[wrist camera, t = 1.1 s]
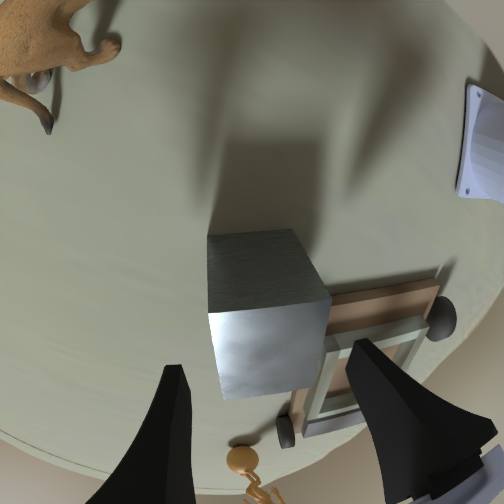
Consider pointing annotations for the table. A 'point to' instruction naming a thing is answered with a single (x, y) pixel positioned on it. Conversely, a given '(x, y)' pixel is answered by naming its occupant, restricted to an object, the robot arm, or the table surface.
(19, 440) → the table surface
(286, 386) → the brushed grey box
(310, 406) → the toy car chassis
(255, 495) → the figurine
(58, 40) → the lion figurine
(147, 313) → the table surface
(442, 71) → the table surface
